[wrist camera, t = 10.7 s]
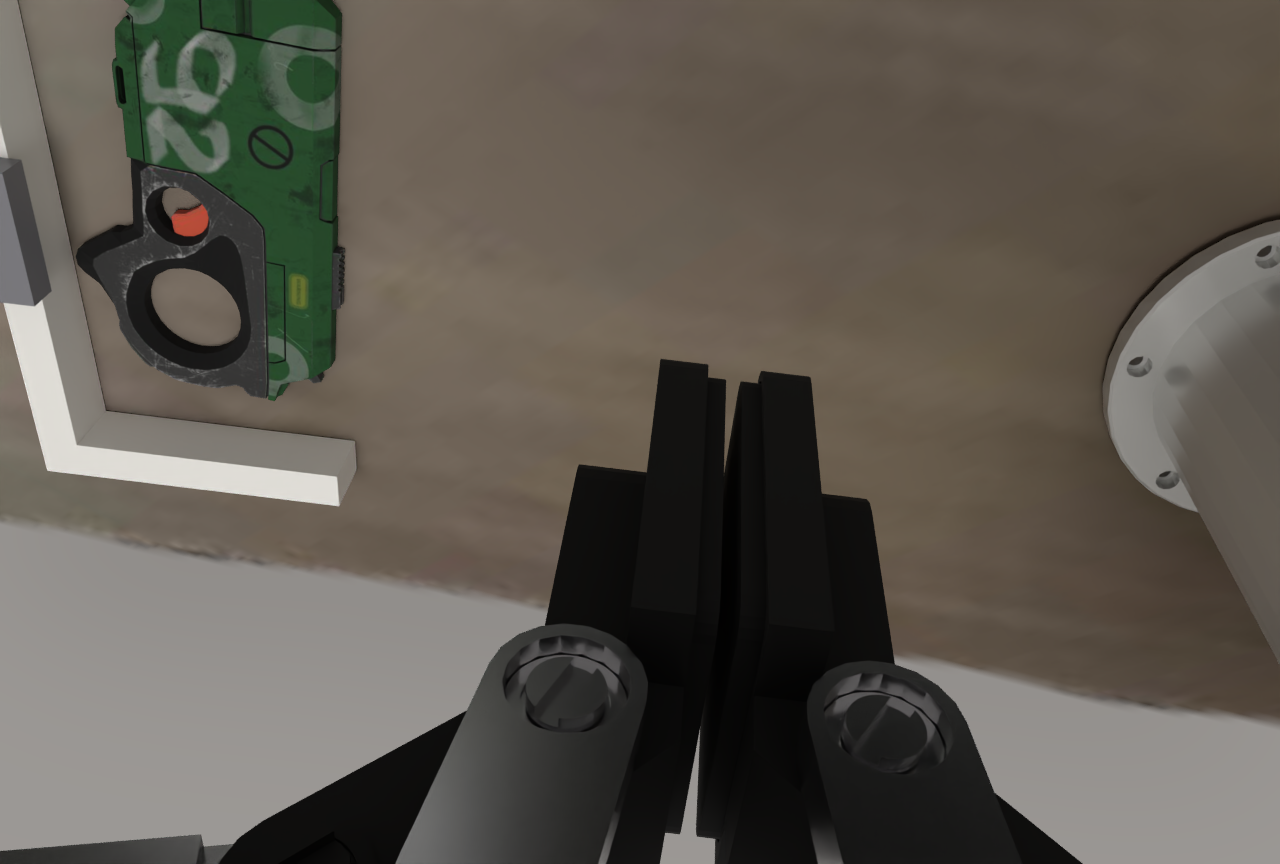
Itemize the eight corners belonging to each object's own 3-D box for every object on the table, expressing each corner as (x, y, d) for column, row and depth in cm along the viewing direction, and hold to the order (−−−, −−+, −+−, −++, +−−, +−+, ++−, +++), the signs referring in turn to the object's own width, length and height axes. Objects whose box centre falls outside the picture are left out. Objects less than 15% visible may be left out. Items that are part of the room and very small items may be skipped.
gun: (26, -68, 35) (341, -5, 36) (50, -77, 36) (354, -16, 37) (84, 365, 45) (334, 412, 45) (101, 347, 46) (344, 392, 46)
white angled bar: (321, -92, 35) (280, -68, 32) (356, 469, 48) (330, 524, 45) (-72, -138, 35) (-149, -118, 32) (67, 434, 48) (20, 487, 45)
